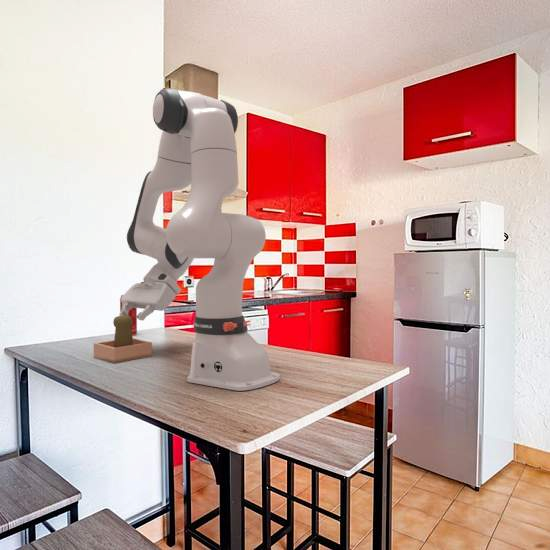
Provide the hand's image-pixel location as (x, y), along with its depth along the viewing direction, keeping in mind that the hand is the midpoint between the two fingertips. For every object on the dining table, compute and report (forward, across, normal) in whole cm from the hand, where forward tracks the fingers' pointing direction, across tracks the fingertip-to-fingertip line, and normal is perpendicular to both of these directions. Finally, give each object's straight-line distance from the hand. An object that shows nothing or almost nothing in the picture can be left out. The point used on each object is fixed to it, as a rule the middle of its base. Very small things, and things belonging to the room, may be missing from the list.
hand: (130, 317), depth 126 cm
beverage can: (-5, -31, +20) cm, 37 cm away
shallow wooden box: (+10, 0, +6) cm, 11 cm away
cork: (+9, 0, +6) cm, 11 cm away
